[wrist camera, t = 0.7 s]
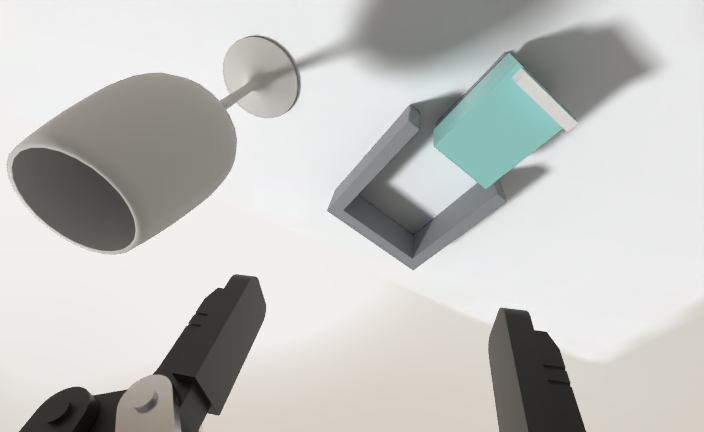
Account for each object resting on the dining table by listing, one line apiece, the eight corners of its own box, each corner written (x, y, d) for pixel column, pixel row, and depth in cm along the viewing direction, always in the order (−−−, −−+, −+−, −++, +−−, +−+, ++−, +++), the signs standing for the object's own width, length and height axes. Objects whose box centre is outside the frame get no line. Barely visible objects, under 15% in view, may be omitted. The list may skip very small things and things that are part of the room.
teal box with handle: (505, 48, 27) (523, 67, 22) (554, 97, 28) (583, 126, 23) (432, 123, 31) (434, 154, 26) (478, 162, 33) (488, 198, 27)
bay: (410, 104, 30) (408, 120, 27) (499, 179, 33) (506, 201, 30) (335, 190, 37) (327, 210, 34) (414, 246, 40) (413, 270, 37)
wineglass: (229, 18, 29) (-41, 86, 12) (310, 58, 30) (162, 174, 13) (216, 98, 33) (7, 228, 17) (287, 131, 34) (156, 287, 17)
